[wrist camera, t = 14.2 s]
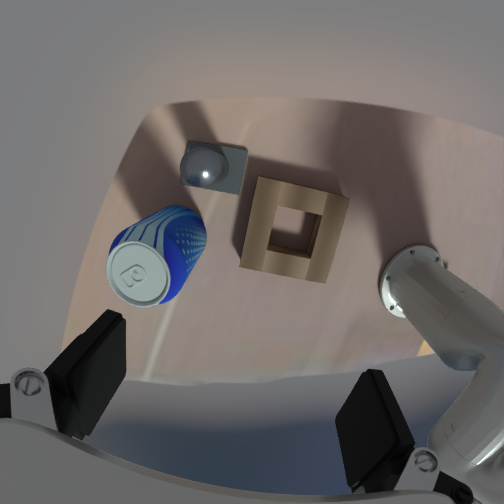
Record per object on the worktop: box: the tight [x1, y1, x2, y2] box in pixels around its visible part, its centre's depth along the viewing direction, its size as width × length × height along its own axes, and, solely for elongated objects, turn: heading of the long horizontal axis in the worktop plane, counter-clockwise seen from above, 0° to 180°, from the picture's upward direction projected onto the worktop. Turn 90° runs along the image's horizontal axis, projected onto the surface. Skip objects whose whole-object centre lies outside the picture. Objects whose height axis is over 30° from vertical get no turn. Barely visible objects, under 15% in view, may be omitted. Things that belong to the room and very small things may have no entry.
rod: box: [180, 147, 229, 187], centre depth 32 cm, size 4×4×10 cm
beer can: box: [106, 206, 207, 307], centre depth 32 cm, size 8×8×16 cm
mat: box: [181, 141, 248, 195], centre depth 37 cm, size 8×6×1 cm
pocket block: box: [239, 176, 349, 284], centre depth 38 cm, size 12×12×3 cm
